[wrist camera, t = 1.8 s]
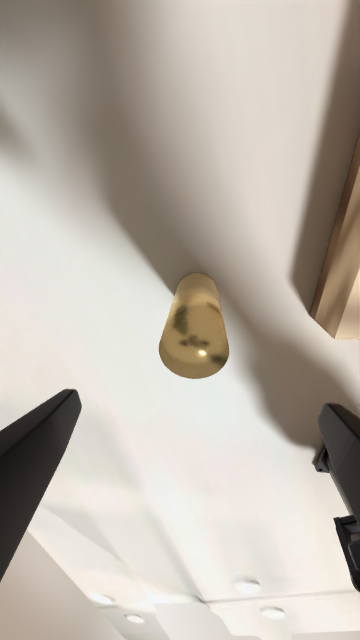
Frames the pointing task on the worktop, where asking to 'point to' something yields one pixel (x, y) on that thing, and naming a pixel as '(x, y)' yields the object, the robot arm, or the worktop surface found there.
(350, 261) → the bore block
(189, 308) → the pin
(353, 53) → the worktop surface
